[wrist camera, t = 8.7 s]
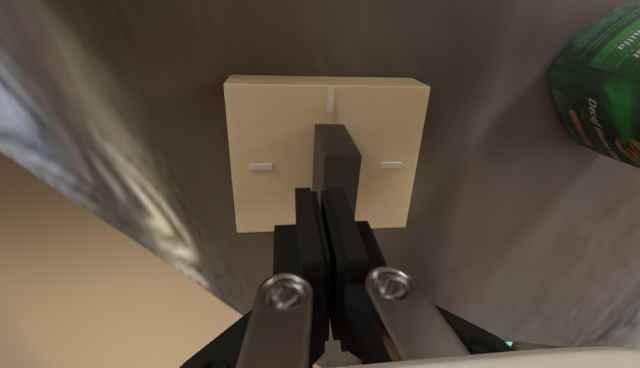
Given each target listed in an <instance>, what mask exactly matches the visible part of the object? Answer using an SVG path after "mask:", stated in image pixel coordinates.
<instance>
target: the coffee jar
mask: <svg viewBox="0 0 640 368" xmlns="http://www.w3.org/2000/svg"><path fill="white" fill-rule="evenodd" d="M549 86H550V90H551V94H552V98H553V101H554V104H555V107H556V109H557V111H558V114H559V116H560V118H561V120H562V122H563V123H564V125H565V127H566V128H567V130H568V131H569V133H570V134H571V135H572V137H573V138H574V139H575V140H576V141H577V142H578V143H579V144H580V145H582V146H584V147H586V148H589V149H591V150H593V151H596V152H598V153H600V154H603V155H605V156H608V157H611V158H613V159H616V160H618V161H621V162H624V163H626V164H629V165H632V166H635V167H637V168H640V1H638V2H631V3H627V4H624V5H621V6H619V7H617V8H615V9H613V10H611V11H610V12H608V13H606V14H605V15H603V16H601V17H600V18H598V19H597V20H596V21H594V22H593V23H592V24H590V25H589V26H587V27H586V28H585V29H584V30H582V31H581V32H580V33H579V34H578V35H577V36H575V37H574V38H573V39H572V40H571V41H570V42H569V43H568V45H567V46H566V47H565V48H564V49H563V50H562V51H561V53H560V54H559V56H558V57H557V59H556V61H555V63H554V65H553V67H552V69H551V72H550V76H549Z"/></svg>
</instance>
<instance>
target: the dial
mask: <svg viewBox="0 0 640 368" xmlns="http://www.w3.org/2000/svg"><path fill="white" fill-rule="evenodd" d="M361 160H362V155H361V154H360V152H359V150H358V148H357V147H356V145H355V143H354V141H353V140H352V138H351V136H350V134H349V132H348V131H347V129H346V127H345V125H343V124H315V132H314V155H313V177H312V191H317V195H318V200H319V205H320V210H321V191H326V188H327V187H333V186H343V189H344V191H345V194H346V197H347V200H348V202H349V205H350V208H351V211H352V214H353V216H354V219H355V212H356V204H357V195H358V186H359V177H360V169H361Z"/></svg>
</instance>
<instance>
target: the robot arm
mask: <svg viewBox="0 0 640 368" xmlns="http://www.w3.org/2000/svg"><path fill="white" fill-rule="evenodd" d="M295 214H296V224H290V225H275V226H274V262H273V275H272V276H271V277H269V278H267V279H265V280H264V281H263V282H262V283H261V284H260V286H259V288H258V290H257V294H256V297H255V301H254V304H253V308H252V310H250V311H249V312H248V313H247V314H245V315H244V316H243V317H242V318H240V319H239V320H238V321H237V322H235V323H234V324H233V325H232V326H230V327H229V328H228V329H226V330H225V331H224V332H223V333H221V334H220V335H219V336H218V337H217V338H215V339H214V340H213V341H211V342H210V343H209V344H207V345H206V346H205V347H204V348H203V349H201V350H200V351H199V352H197V353H196V354H195V355H194V356H192V357H191V358H190V359H189V360H187V361H186V362H185V363H184V364H183V365H182V366H181V367H180V368H313V365H314V363H315V362H316V361H317V360H318V359H319V358H320V357H321V356H322V354H323V353H324V352H325V341H328V340H329V316H330V322H331V329H332V335H333V339H334V340H340V344H341V349H342V352H344V351H349V352H350V353H352V354H353V355H355V356H356V357H358V360H357V363H358V365H355V366H344V367H334V368H640V349H634V348H626V347H605V346H595V347H557V346H548V345H540V344H532V343H523V342H515V341H513V343H512V345H511V346H509V345H508V344H507V343H506V342H505V341H503V340H502V339H500V338H498V337H497V336H495V335H493V334H491V333H489V332H487V331H486V330H484V329H482V328H480V327H478V326H476V325H474V324H472V323H470V322H468V321H466V320H464V319H462V318H460V317H458V316H456V315H454V314H452V313H450V312H448V311H446V310H444V309H442V308H440V307H438V306H436V305H434V303H433V302H432V300H431V299H430V298H429V296H428V295H427V294H426V292H425V291H424V289H423V288H422V287H421V285H420V284H419V283H418V281H417V280H416V279H415V278H414V277H413V276H412V275H411V274H410V273H408V272H407V271H405V270H403V269H400V268H397V267H391V266H387V265H386V262H385V260H384V258H383V255H382V253H381V250H380V248H379V246H378V243H377V241H376V239H375V236H374V234H373V232H372V229H371V227H370V224H369V223H368V221H355V219H354V216H353V214H352V211H351V208H350V205H349V202H348V200H347V197H346V194H345V191H344V189H343V186H333V187H327V188H326V191H321V210H320V205H319V200H318V195H317V191H311V188H310V187H308V188H295Z"/></svg>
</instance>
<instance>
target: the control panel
mask: <svg viewBox="0 0 640 368" xmlns="http://www.w3.org/2000/svg"><path fill="white" fill-rule="evenodd" d="M223 86H224V97H225V108H226V119H227V130H228V140H229V151H230V162H231V173H232V184H233V195H234V206H235V216H236V227H237V233H241V232H272V231H274V226H275V225H290V224H296V214H295V188H308V187H310V188H311V191H312V177H313V155H314V132H315V124H343V125H345V127H346V129H347V131H348V132H349V134H350V136H351V138H352V140H353V141H354V143H355V145H356V147H357V148H358V150H359V152H360V154H361V155H362V160H361V169H360V177H359V186H358V195H357V204H356V212H355V221H368V223H369V224H370V227H371V228H395V227H405V226H406V221H407V215H408V210H409V204H410V199H411V193H412V188H413V182H414V177H415V171H416V166H417V160H418V154H419V149H420V143H421V138H422V132H423V127H424V121H425V116H426V110H427V105H428V99H429V94H430V87H429V86H427V85H425V84H423V83H421V82H419V81H418V80H416V79H414V78H381V77H328V76H275V75H230V76H229V77H228V79H227V80H226V81H225V83H224V84H223Z"/></svg>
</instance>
